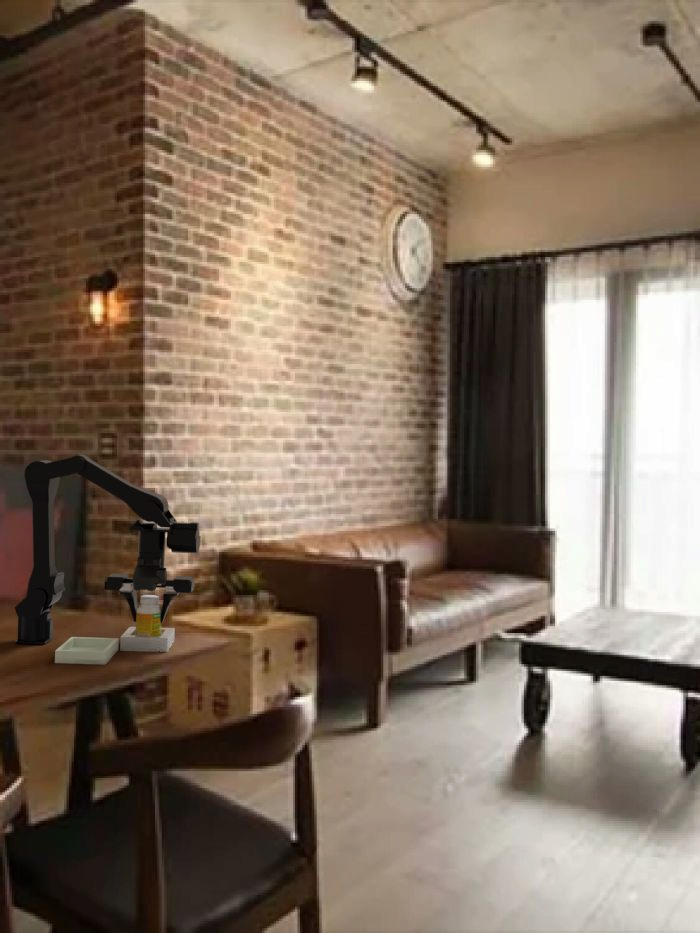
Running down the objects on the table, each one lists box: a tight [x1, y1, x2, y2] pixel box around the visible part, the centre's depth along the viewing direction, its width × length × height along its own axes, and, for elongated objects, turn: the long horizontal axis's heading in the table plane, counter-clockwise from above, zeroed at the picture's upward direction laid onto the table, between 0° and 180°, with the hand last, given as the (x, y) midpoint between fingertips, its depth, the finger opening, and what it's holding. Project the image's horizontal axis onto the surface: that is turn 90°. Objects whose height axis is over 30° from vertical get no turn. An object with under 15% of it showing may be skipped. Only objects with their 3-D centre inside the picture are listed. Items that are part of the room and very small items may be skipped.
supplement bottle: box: [135, 594, 162, 636], centre depth 191 cm, size 5×5×10 cm
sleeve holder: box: [119, 626, 176, 653], centre depth 191 cm, size 10×10×3 cm
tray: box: [54, 636, 120, 665], centre depth 180 cm, size 10×12×2 cm
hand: (148, 622), depth 191 cm, fingers closed on supplement bottle, 5 cm apart
